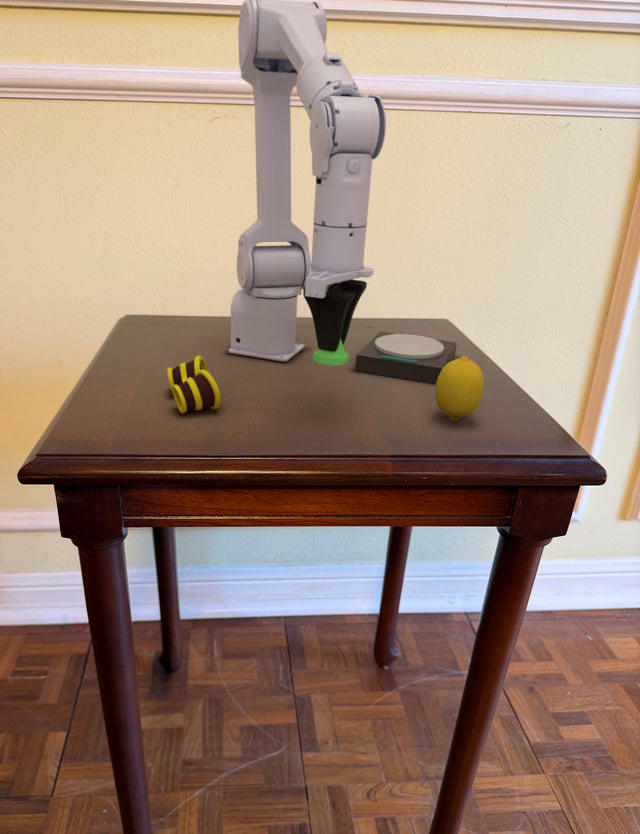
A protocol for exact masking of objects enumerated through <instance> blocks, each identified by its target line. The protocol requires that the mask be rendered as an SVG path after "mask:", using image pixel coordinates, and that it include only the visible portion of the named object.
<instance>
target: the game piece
mask: <svg viewBox="0 0 640 834" xmlns="http://www.w3.org/2000/svg"><path fill="white" fill-rule="evenodd" d="M312 360H313V361H314V362H315V363H317V364H319V365H323V366H324V365H325V366H332V367H335V366H343V365H346V364H347V363H348V362H349V360H350V353H348V352H347V351H346V350H345V347H344V344H342V341H341V339H340V343H339V346H338V348H337V350H336V351H335V352H333V351H327V350H320V349H319V348H318V347H317V348H316V350H314V351H313V352H312Z"/></svg>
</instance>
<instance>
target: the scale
mask: <svg viewBox="0 0 640 834" xmlns="http://www.w3.org/2000/svg"><path fill="white" fill-rule="evenodd" d="M457 344H458V342H456V341H451V340H444V339H443V340H442V339H435V338H431V337H429V336H423V335H419V334H418V335H417V334H409V333H407V334H406V333H402V334H401V333H392V332H387V331H379V332H378V333H377V334H376V335H375V336H374V337H373V338H372V339H370V341H369V342H368V343H367V344H366V345H365V346H363V348H362V349H361V350H359V352H357V354H356V356H355V368H354V371H355V372H358V373H359V372H360V373H365V374H370V375H371V374H372V375H378V376H384V377H390V378H396V379H402V380H408V381H415V382H422V383H427V384H433V385H436V382H437V379H438V376H439V374H440V372H441V370H442V369H443V367H444V366H445V365H446V364H448V363H449V362H451V361H453V360H455V359H456V351H457Z"/></svg>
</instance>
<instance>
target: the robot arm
mask: <svg viewBox="0 0 640 834" xmlns="http://www.w3.org/2000/svg"><path fill="white" fill-rule="evenodd" d="M237 34H238V35H237V36H238V65H239V69H240V78H241V79H242V80H243V81H245V82H246V83H247V84H249V85H250V86H251V87H252V95H253V102H254V104H253V105H254V137H255V138H254V139H255V177H256V180H255V183H256V220H255V221H254V222H253V223H252V224H251V225H250V226H249V227H248V228H246V229H245V230H244V231H243V232H242V233H241V234H240V235H239V238H238V241H237V244H238V245H237V255H236V276H237V281H238V285H239V287H240V289H238V290H237V291H236V292H235V293H234V295H233V297H232V301H231V303H230V348H229V349H228V353H229V354H233V355H240V356H247V357H253V358H259V359H265V360H270V361H278V362H283V363H284V362H285V363H286V362H288V361H290V360H291V359H292V358H294V357H295V355H297V354H298V353H299V352H301V351H302V350H303V349H305V344H302V343H296V341H297V317H298V316H297V315H298V296H301V295H303V298H304V300H305V301H306V304H307V306H308V308H309V311H310V314H311V317H312V321H313V326H314V331H315V336H316V342H317V349H318V348H319V349H320V350H327V351H333V352H335V351H336V350H337V348H338V346H339V343H340V339H341V341H342V344H343V345H344V344H345V342H346V339H347V337H348V333H349V330H350V326H351V323H352V319H353V316H354V313H355V310H356V309H357V306H358V304H359V301H360V299H361V298H362V296H363V294H364V292H365V291H366V289H367V287H368V286H367V285H368V283H367V281H365V280H359V279H360V278H371V277H372V276H374V268H373V267H367V266H365V263H364V262H365V249H366V238H367V237H366V236H367V225H368V216H369V203H370V192H371V182H372V181H371V180H372V170H373V160H376V159H377V158H378V157H379V155H380V154H381V152H382V149H383V146H384V143H385V139H386V131H387V115H386V114H387V113H386V111H385V110H386V109H385V106H384V103H383V101H382V97H380V96H379V95H377V94H375V95H374V94H373V95H372V94H370V95H369V94H363V93H362V92H361V90H360V89H359V87H358V85H357V83H356V81H355V79H354V78H353V76H352V74H351V73H350V71H349V69H348V68H347V65H346V64H345V61H344V60H343V59H342V56H341V55H340V53H339V52H332V51H331V52H330V51H329V52H328V49H327V47H326V42H327V34H328V22H327V14H326V11H325V9H324V7H323V6H322V3H321V2H319V1H312V2H305V1H304V2H303V1H293V0H244V1H243V3H242V5H241V8H240V11H239V19H238V29H237ZM295 87H296V92H297V95H298V97H299V99H300V102H301V104H302V105H303V108H304V110H305V112H306V114H307V116H308V119H309V120H310V124H309V145H310V151H311V170H312V171H311V172H312V176H314V177H315V188H314V189H315V191H314V208H313V224H312V225H313V227H312V243H311V244H312V246H311V247H312V248H311V254H310V247H309V246H310V245H309V239H308V235H307V234H306V233H305V232H304V231H303V230H302V229H301V228H300V227H298V226H297V225H296V224H295V223H294V222H293V221H292V148H291V146H292V145H291V143H292V142H291V141H292V136H291V135H292V133H291V129H292V128H291V126H292V125H291V123H292V121H291V120H292V119H291V94H292V92H293V89H294V88H295ZM261 243H288V244H286V245H285V244H284V245H283V244H282V245H281V244H280V245H258V244H261Z"/></svg>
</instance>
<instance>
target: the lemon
mask: <svg viewBox="0 0 640 834" xmlns="http://www.w3.org/2000/svg"><path fill="white" fill-rule="evenodd" d="M482 371H483V370H482V369H481V368H480V367H479V365H478V364H477V363H476V362H474V361H473V360H471V359H469V357H468V356H466V355H463V356H461V357H460V358H454V359H453V361H451V362H449V363H448V364H446V365H445V366H444V367H443V369H442V370H441V372H440V374H439V376H438V379H437V382H436V384H435V388H434V389H435V390H434V395H435V401H436V405H437V406H438V408H439V409H440V410H441V412H443V413H444V414H445V415H447V416H449V418H450V419H451V420H452V421H458V420H459V419H460V418H463V417H466V416H470V414H472V413H473V412H474V411H475V410H477V408H478V407H479V405H480V403H481V401H482V399H483V395H484V388H485V381H484V379H485V378H484V374H483V372H482Z"/></svg>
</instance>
